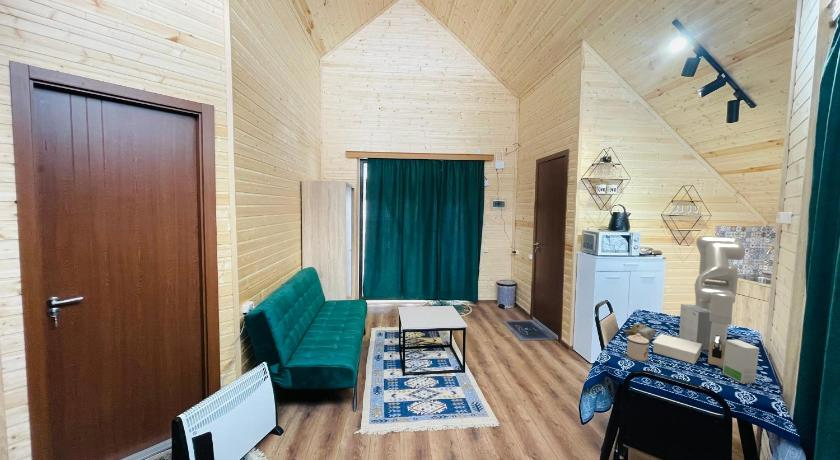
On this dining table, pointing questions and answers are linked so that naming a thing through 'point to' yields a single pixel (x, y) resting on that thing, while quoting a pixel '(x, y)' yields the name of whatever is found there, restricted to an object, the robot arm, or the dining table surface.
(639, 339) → the teacup with lid
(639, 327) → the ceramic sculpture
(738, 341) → the skincare box
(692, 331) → the hard drive box
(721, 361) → the kraft carton
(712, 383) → the dining table surface
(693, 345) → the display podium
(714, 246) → the robot arm
